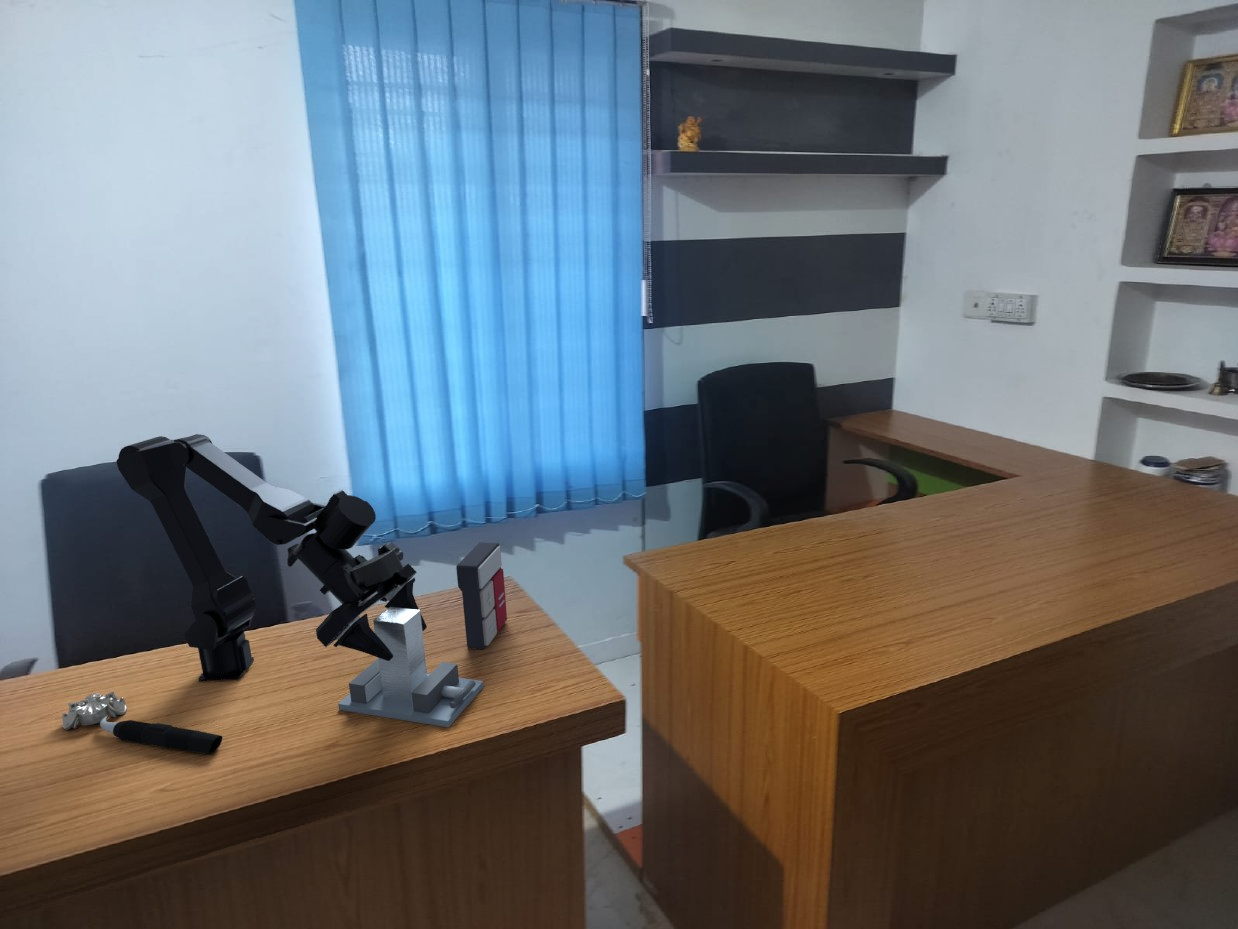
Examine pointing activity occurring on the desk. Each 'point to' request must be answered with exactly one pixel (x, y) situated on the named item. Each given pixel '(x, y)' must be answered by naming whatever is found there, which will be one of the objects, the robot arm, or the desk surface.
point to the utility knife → (163, 736)
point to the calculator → (482, 594)
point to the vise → (414, 696)
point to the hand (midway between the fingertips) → (408, 643)
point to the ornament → (93, 710)
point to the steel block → (401, 652)
